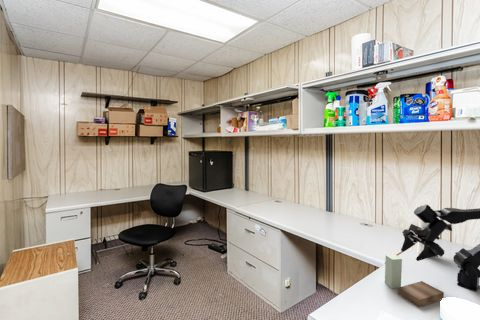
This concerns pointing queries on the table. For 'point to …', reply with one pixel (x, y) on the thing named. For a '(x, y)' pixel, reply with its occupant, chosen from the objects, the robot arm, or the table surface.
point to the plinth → (420, 293)
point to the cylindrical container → (420, 246)
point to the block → (393, 271)
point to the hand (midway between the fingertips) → (408, 255)
